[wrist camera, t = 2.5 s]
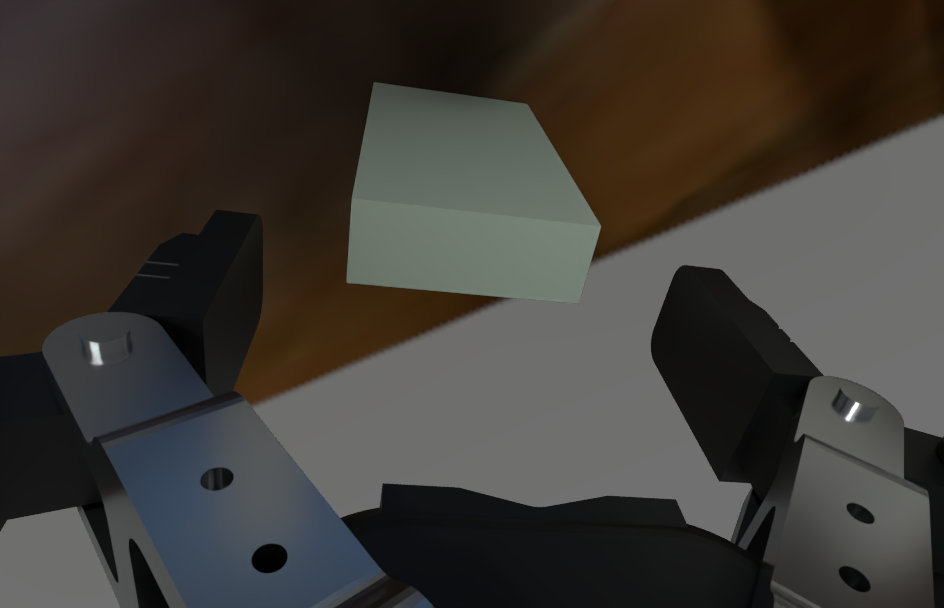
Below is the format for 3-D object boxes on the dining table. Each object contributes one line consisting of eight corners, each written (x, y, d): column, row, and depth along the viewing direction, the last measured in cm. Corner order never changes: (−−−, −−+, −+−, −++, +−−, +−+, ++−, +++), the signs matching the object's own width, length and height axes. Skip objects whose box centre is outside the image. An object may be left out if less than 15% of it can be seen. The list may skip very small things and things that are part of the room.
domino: (373, 82, 19) (351, 198, 12) (527, 103, 20) (601, 226, 12) (369, 139, 20) (346, 282, 12) (516, 158, 21) (578, 304, 13)
